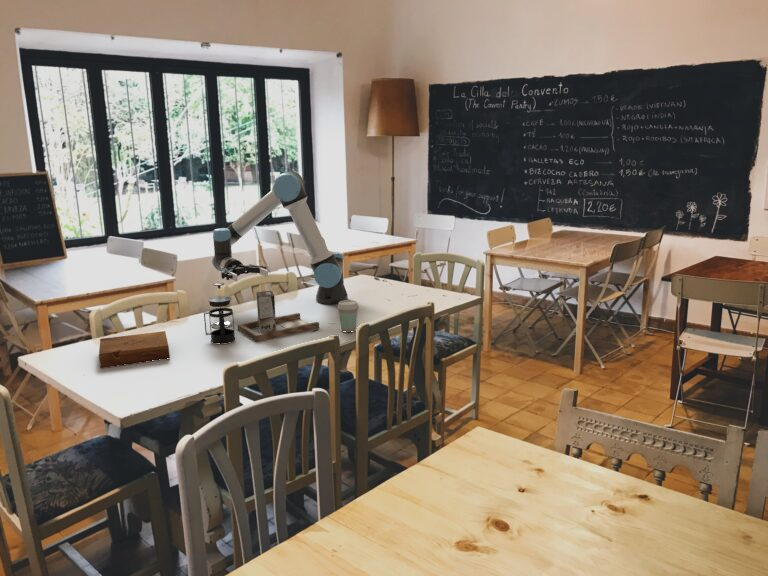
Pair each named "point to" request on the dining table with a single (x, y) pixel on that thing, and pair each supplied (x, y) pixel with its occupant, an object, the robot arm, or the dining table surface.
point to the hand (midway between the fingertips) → (252, 275)
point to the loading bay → (290, 324)
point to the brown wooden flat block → (133, 349)
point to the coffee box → (266, 311)
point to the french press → (220, 319)
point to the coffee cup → (348, 315)
